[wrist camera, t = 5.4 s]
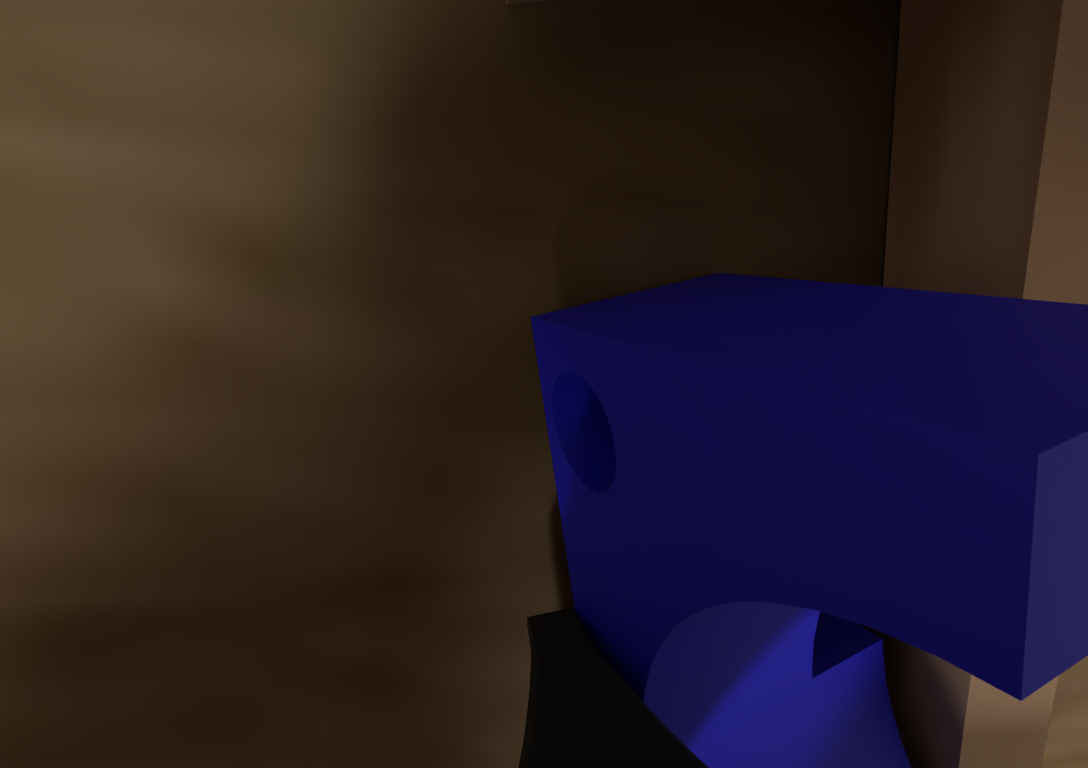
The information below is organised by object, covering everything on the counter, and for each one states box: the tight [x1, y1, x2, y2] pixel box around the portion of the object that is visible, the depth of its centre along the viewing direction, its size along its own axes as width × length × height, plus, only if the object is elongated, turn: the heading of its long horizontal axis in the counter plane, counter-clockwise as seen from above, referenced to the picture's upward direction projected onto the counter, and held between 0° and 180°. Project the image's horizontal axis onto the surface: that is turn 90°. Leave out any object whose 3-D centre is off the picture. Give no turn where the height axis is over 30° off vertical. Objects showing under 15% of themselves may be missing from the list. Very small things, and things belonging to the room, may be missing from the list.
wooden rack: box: [505, 0, 1088, 768], centre depth 10 cm, size 19×7×2 cm, turn 6°
